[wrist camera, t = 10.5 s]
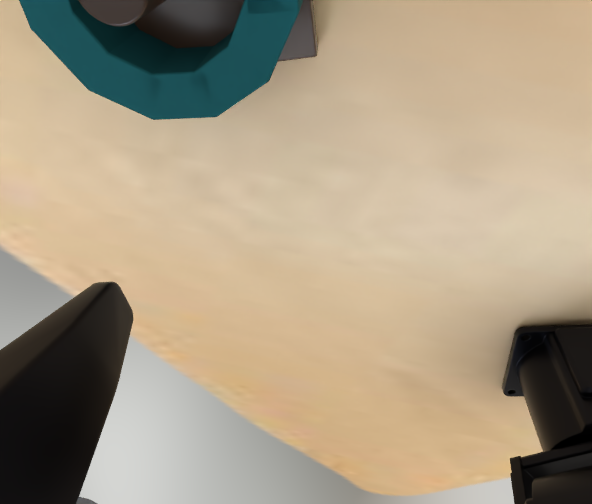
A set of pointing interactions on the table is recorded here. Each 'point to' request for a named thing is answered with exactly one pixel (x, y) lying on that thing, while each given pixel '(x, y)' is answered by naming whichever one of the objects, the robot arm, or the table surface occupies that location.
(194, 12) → the peg stand
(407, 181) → the table surface
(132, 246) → the table surface
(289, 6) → the ring
